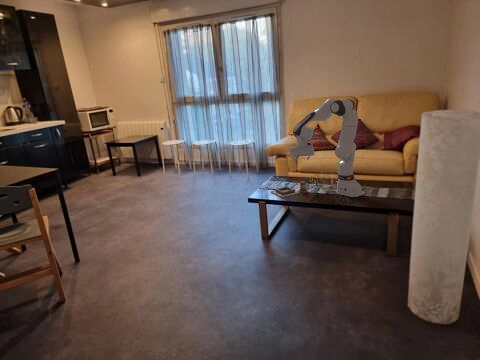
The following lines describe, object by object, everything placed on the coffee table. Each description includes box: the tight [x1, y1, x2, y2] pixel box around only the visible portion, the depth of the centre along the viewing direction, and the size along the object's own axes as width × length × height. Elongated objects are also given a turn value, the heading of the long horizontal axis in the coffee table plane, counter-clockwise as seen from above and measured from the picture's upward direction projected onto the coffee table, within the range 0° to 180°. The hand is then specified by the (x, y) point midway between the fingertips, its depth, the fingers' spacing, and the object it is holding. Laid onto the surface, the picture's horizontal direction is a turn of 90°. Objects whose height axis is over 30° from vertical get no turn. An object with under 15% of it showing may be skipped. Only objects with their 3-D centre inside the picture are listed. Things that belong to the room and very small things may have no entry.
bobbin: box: [298, 180, 308, 194], centre depth 273 cm, size 6×6×8 cm
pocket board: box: [270, 185, 301, 199], centre depth 273 cm, size 17×17×3 cm
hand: (302, 159), depth 279 cm, fingers open, 8 cm apart
